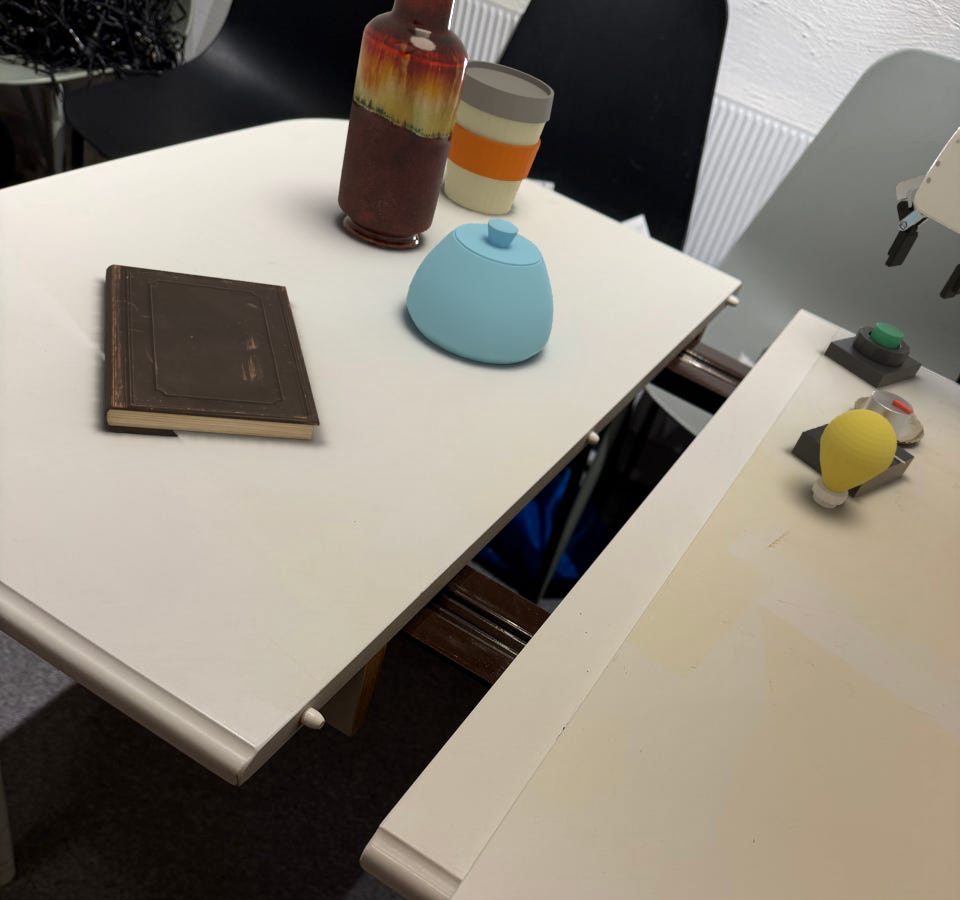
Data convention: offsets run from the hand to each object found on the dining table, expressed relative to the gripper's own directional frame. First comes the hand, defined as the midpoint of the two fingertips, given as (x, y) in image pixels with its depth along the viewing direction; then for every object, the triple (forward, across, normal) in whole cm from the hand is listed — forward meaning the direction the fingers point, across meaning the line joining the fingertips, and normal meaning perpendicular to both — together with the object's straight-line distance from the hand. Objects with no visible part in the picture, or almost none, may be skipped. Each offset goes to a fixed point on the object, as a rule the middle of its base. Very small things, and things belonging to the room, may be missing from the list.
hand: (919, 279), depth 114 cm
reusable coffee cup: (+12, +49, +25) cm, 56 cm away
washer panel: (+12, -13, +26) cm, 31 cm away
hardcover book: (+12, +22, +80) cm, 83 cm away
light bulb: (+12, -16, +35) cm, 40 cm away
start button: (+8, 0, 0) cm, 8 cm away
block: (+12, 0, 0) cm, 12 cm away
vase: (+12, +42, +46) cm, 63 cm away
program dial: (+9, -13, +24) cm, 29 cm away
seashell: (+12, -10, +13) cm, 20 cm away
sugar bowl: (+12, +20, +50) cm, 55 cm away
